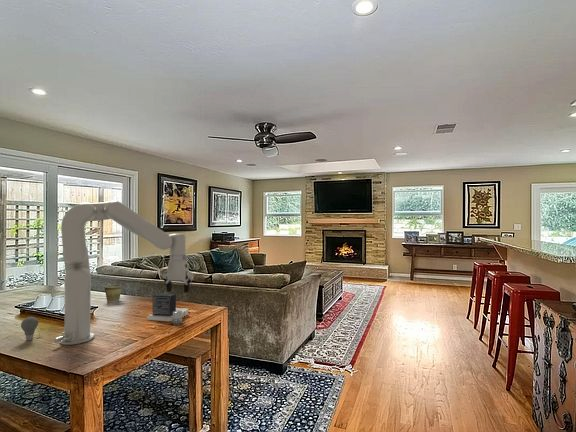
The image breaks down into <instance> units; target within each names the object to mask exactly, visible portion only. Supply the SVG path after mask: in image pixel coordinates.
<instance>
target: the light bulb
mask: <svg viewBox="0 0 576 432" xmlns="http://www.w3.org/2000/svg"><path fill="white" fill-rule="evenodd" d="M38 326H39V319H37V318H36V317H35V316H28V317H26V318H24V319H23V320H22V321H21V323H20V327H21V330H22V331H23V332H24V335H25V341H32V340H34V334H35V332H36V329H37V327H38Z"/></svg>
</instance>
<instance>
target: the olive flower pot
mask: <svg viewBox="0 0 576 432" xmlns="http://www.w3.org/2000/svg"><path fill="white" fill-rule="evenodd" d="M122 289H123V285H122V284H118V283H117V284H108V285H105V286H104V293H105V297H106V302H107V303H108V304H113V303H117V302H120V298H121V294H122Z"/></svg>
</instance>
